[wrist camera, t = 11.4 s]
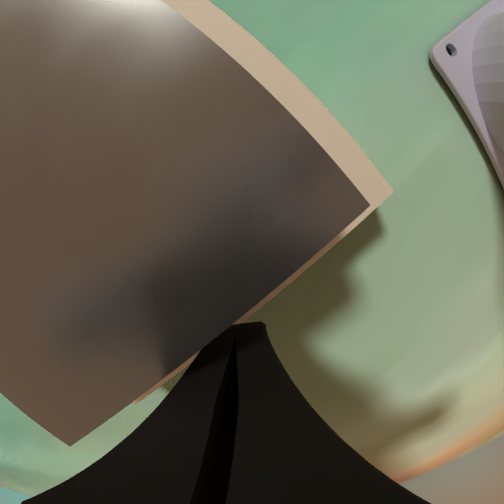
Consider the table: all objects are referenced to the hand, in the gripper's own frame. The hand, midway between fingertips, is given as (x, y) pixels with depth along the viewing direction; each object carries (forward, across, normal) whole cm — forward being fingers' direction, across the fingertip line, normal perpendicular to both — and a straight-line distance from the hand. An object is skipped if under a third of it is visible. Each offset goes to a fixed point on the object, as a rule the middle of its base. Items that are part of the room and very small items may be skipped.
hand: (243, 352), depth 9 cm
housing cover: (+1, +4, -5) cm, 7 cm away
